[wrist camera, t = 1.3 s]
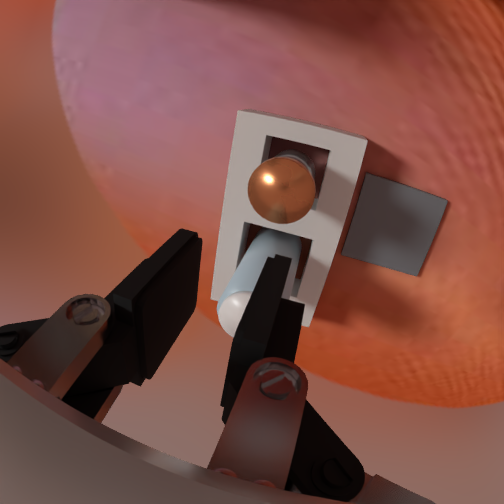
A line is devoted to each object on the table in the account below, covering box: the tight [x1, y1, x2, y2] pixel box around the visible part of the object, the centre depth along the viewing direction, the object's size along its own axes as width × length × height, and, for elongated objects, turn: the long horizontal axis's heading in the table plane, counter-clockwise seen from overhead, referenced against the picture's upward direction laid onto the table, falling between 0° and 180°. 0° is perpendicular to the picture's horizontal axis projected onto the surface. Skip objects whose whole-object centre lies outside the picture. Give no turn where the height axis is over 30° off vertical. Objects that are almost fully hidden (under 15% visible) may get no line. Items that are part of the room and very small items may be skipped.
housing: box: [211, 109, 368, 327], centre depth 28 cm, size 10×18×3 cm, turn 169°
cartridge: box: [217, 227, 302, 338], centre depth 26 cm, size 5×5×12 cm
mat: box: [341, 173, 448, 276], centre depth 27 cm, size 8×8×1 cm
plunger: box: [248, 149, 316, 224], centre depth 22 cm, size 4×4×6 cm
